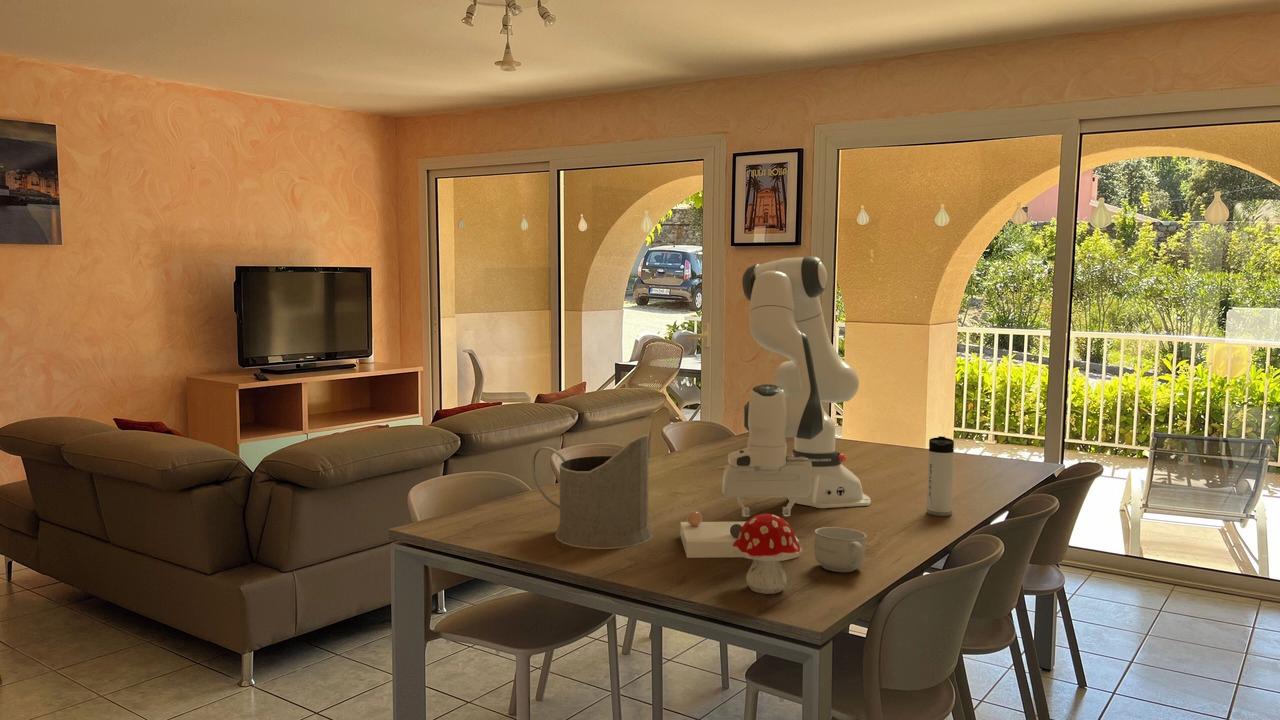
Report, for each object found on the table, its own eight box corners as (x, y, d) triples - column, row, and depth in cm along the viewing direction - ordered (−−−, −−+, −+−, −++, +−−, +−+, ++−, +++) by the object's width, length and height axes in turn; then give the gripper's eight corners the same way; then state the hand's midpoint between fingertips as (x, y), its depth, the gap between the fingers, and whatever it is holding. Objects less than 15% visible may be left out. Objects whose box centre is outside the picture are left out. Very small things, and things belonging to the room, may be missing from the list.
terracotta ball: (701, 523, 218) (701, 509, 218) (702, 527, 214) (702, 513, 214) (686, 523, 218) (686, 509, 217) (687, 527, 214) (687, 513, 214)
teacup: (808, 561, 200) (808, 525, 200) (856, 560, 201) (857, 524, 201) (826, 582, 187) (827, 543, 186) (878, 580, 188) (879, 542, 187)
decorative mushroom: (776, 606, 173) (777, 528, 171) (717, 589, 182) (717, 515, 181) (815, 588, 183) (816, 514, 182) (757, 573, 192) (758, 502, 191)
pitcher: (625, 554, 206) (625, 443, 204) (507, 536, 219) (505, 433, 217) (667, 529, 226) (668, 428, 224) (557, 514, 240) (556, 420, 238)
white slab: (784, 535, 221) (784, 521, 220) (799, 556, 204) (799, 541, 203) (680, 536, 220) (680, 522, 219) (686, 557, 203) (686, 542, 202)
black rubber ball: (742, 535, 208) (742, 522, 208) (744, 539, 205) (744, 526, 205) (729, 535, 208) (729, 522, 208) (730, 539, 205) (730, 526, 205)
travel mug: (951, 511, 244) (954, 436, 243) (951, 517, 238) (954, 441, 236) (927, 509, 246) (929, 435, 245) (926, 515, 240) (928, 439, 238)
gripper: (809, 453, 214) (808, 511, 215) (721, 454, 213) (720, 512, 214) (815, 458, 207) (814, 518, 209) (724, 459, 207) (724, 519, 208)
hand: (766, 515), depth 211 cm, fingers open, 8 cm apart
